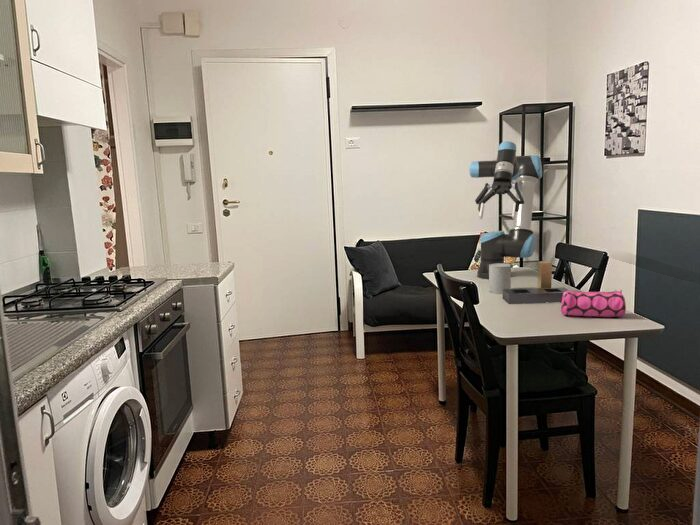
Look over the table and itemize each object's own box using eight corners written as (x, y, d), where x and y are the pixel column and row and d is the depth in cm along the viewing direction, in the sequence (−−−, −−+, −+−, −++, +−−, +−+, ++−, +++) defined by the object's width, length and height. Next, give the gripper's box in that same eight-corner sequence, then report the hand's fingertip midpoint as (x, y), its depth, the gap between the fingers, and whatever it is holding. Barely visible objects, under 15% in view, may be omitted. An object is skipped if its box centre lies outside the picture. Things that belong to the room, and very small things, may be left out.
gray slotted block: (502, 298, 229) (502, 289, 228) (563, 296, 228) (564, 287, 227) (508, 304, 219) (508, 294, 218) (572, 302, 218) (573, 292, 218)
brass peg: (537, 292, 237) (538, 261, 235) (547, 292, 237) (548, 261, 235) (540, 294, 233) (541, 263, 231) (551, 294, 233) (551, 262, 231)
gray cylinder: (488, 294, 238) (489, 266, 236) (488, 289, 247) (488, 263, 245) (511, 294, 236) (511, 266, 234) (510, 289, 245) (510, 263, 243)
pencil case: (618, 312, 200) (619, 286, 199) (627, 319, 191) (628, 292, 189) (558, 312, 204) (559, 286, 203) (564, 319, 195) (564, 292, 193)
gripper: (472, 170, 234) (465, 213, 227) (532, 168, 222) (526, 213, 215) (476, 180, 240) (469, 221, 233) (534, 178, 228) (528, 222, 221)
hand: (496, 218), depth 224 cm, fingers open, 13 cm apart
